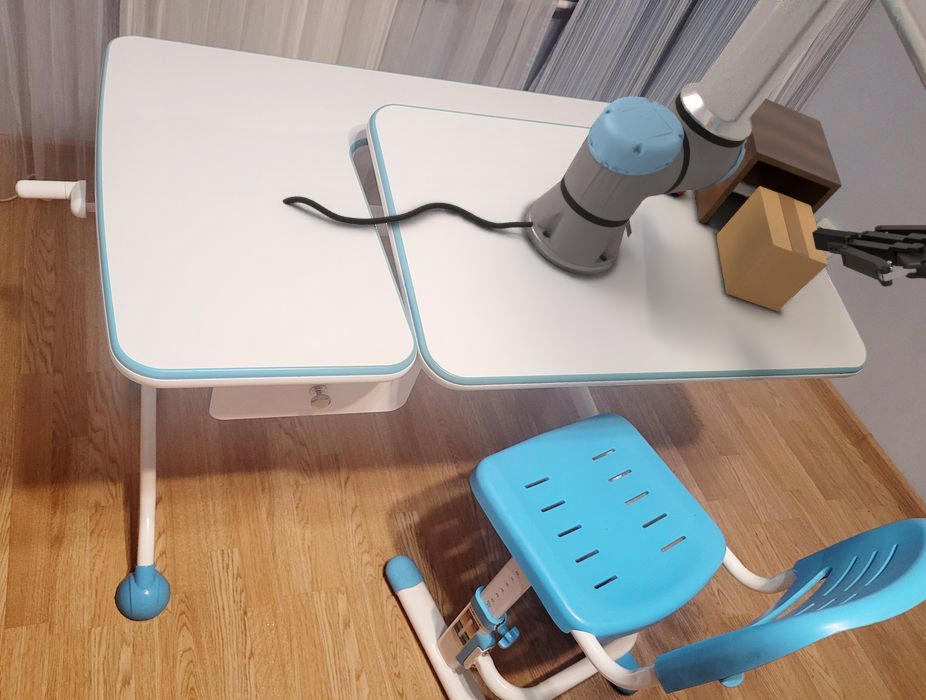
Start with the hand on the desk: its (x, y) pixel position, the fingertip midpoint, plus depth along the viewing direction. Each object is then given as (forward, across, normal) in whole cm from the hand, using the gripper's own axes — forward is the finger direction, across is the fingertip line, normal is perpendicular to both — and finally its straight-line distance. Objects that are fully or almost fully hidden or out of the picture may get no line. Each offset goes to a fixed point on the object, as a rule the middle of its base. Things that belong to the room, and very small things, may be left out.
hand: (818, 238), depth 108 cm
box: (+20, +2, -10) cm, 22 cm away
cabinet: (+32, +12, -3) cm, 35 cm away
